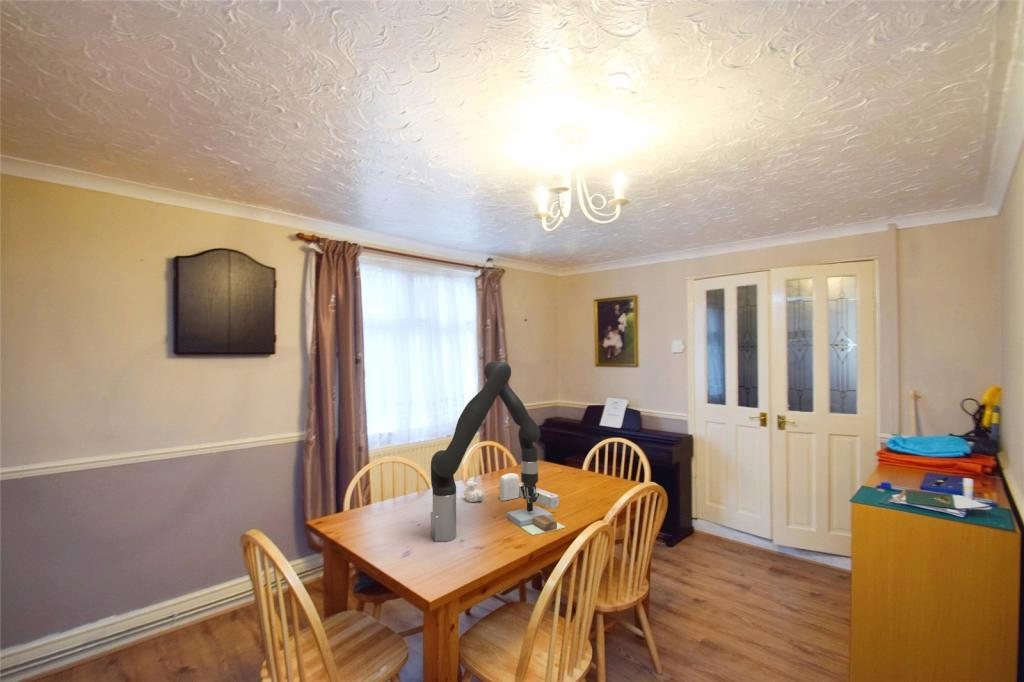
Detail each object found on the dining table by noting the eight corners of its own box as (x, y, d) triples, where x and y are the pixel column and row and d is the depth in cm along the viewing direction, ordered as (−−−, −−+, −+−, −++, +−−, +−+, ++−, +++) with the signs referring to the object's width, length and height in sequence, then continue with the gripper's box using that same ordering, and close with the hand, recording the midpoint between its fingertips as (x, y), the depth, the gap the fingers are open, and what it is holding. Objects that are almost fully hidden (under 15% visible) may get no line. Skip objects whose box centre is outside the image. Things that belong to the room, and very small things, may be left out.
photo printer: (515, 495, 222) (515, 471, 223) (520, 498, 219) (520, 473, 219) (498, 499, 217) (498, 474, 217) (502, 502, 213) (502, 476, 213)
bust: (462, 503, 217) (454, 489, 212) (469, 491, 223) (461, 476, 217) (482, 507, 211) (474, 493, 205) (489, 494, 216) (481, 480, 211)
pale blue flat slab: (520, 527, 182) (520, 521, 182) (507, 517, 192) (506, 512, 192) (552, 520, 189) (552, 514, 189) (538, 511, 200) (537, 506, 200)
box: (559, 506, 207) (559, 494, 207) (551, 509, 203) (551, 497, 204) (520, 493, 228) (520, 482, 228) (513, 495, 224) (513, 484, 224)
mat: (532, 535, 173) (532, 534, 173) (521, 527, 181) (521, 526, 181) (565, 527, 181) (565, 527, 181) (553, 520, 189) (553, 519, 189)
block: (544, 531, 176) (544, 524, 176) (532, 524, 184) (532, 517, 184) (556, 528, 179) (556, 521, 179) (544, 521, 187) (544, 514, 187)
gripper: (514, 468, 195) (515, 507, 195) (529, 475, 184) (529, 517, 183) (529, 466, 199) (529, 505, 198) (544, 473, 187) (545, 514, 186)
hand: (529, 511), depth 191 cm, fingers closed
